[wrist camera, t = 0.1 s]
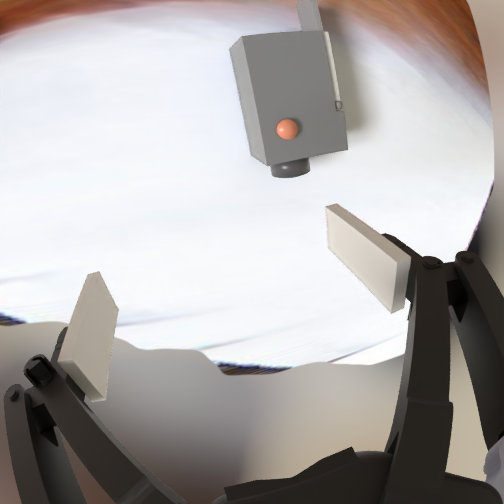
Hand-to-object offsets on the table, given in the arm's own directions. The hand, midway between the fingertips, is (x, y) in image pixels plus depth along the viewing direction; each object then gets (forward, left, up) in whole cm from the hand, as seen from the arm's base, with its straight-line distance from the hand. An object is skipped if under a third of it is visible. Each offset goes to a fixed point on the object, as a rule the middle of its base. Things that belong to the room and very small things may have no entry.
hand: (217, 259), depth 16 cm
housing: (-6, +14, -28) cm, 32 cm away
